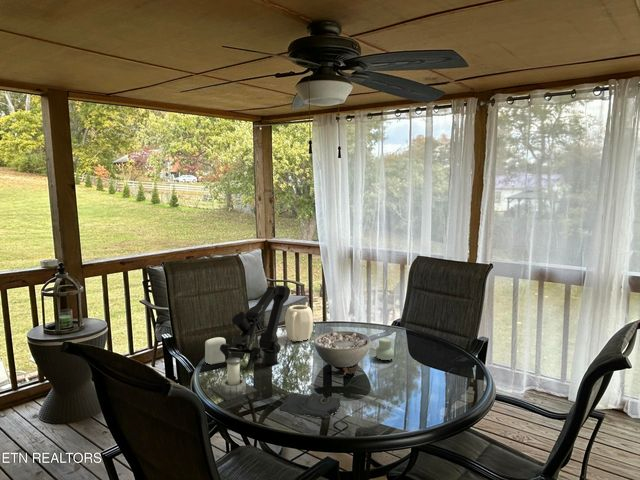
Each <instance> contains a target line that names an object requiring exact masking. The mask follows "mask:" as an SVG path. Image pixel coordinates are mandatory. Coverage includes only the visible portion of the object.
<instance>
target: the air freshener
mask: <svg viewBox="0 0 640 480" xmlns="http://www.w3.org/2000/svg"><path fill="white" fill-rule="evenodd" d="M376 356H377V357H376ZM375 357H376V358H378V359H377V360H379V359H381V360H380V361H382V360H389V361H392V360H394V358H395V351H394V347H392V339H390V338H389V337H388V338H387V337H382V338H379V341H378V346H377V347H376V348H375ZM391 359H392V360H391Z"/></svg>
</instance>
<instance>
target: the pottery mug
mask: <svg viewBox="0 0 640 480" xmlns="http://www.w3.org/2000/svg"><path fill="white" fill-rule="evenodd" d="M342 370H343V371H344V373H349V374H350V373H351V374H350V375H353V374H355V373H357V371H358V370H359V364H358V362H357V364H356V363H355V366H354V367H352V368H346V367H345V368H343V369H342ZM344 373H343V374H344ZM352 373H353V374H352Z"/></svg>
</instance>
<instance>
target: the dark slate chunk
mask: <svg viewBox="0 0 640 480" xmlns="http://www.w3.org/2000/svg"><path fill="white" fill-rule="evenodd" d="M340 400H341V399H340V398H339V397H333V396H330V395H329V396H328V397H325V395H324V394H318V393H315V392H314V393H311V394H310V395H309V394H304V393H303V394H302V393H299V392H295V391H293V392H291V393H290V394H289V395H288V396H287V397H286V398H285V399H284V401H282V404H281V406H280V408H279V410H280V412H281V411H282V412H284V413H290V414H295V415H298V414H299V415H300V414H302V415H300V416H303V415H304V414H305V415H310V416H314V417H320V418H327V417H329V416H330V415H331V414H332V413H335V412H337V410H338V409H339V407H340V408H341V404H340V402H341V401H340ZM325 401H326V402H325ZM339 410H340V409H339ZM337 413H338V412H337ZM299 415H298V416H299ZM314 417H313V418H314Z"/></svg>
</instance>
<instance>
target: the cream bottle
mask: <svg viewBox="0 0 640 480" xmlns="http://www.w3.org/2000/svg"><path fill="white" fill-rule="evenodd" d="M226 363H227V369H226V370H227V379H228V385H230V386H235V385H239V384H240V378H241V374H240V373H241V370H240V368H241V367H240V366H241V358H240V357H232V358H229V359H227V360H226Z"/></svg>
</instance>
